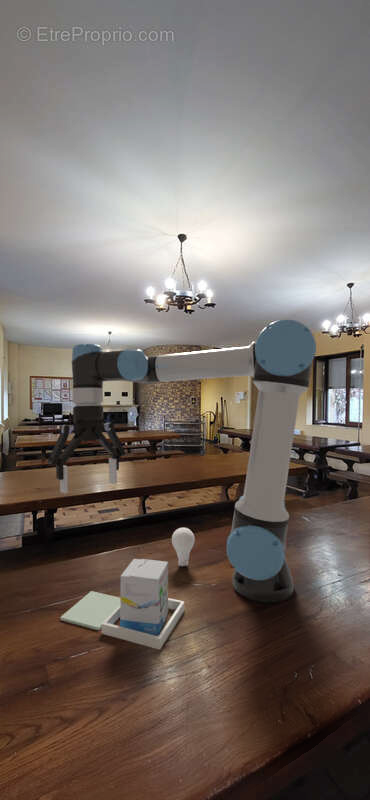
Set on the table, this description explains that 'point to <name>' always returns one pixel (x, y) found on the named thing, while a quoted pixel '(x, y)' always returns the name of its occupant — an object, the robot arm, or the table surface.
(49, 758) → the table surface
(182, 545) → the light bulb
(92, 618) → the mat
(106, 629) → the tray rim
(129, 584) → the ink box
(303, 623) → the table surface
